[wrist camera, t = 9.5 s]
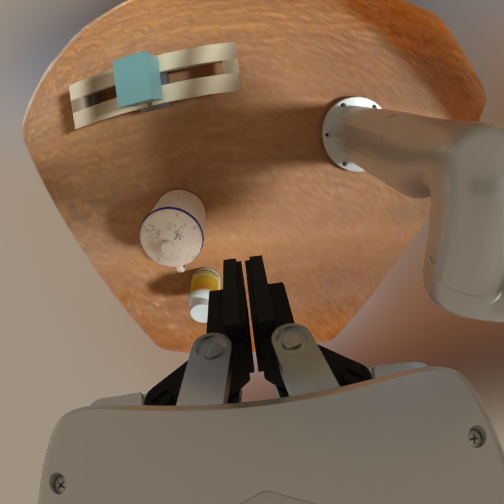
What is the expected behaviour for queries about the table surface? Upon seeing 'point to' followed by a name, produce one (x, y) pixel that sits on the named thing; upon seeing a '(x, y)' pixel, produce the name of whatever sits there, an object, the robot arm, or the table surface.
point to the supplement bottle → (202, 292)
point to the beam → (92, 110)
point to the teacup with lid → (174, 229)
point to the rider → (137, 79)
